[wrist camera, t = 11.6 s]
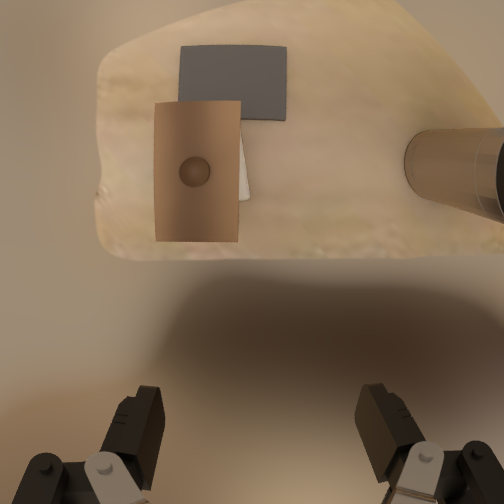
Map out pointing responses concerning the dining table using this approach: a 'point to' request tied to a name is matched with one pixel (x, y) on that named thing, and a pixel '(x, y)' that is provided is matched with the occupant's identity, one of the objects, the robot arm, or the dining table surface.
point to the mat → (236, 77)
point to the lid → (197, 171)
